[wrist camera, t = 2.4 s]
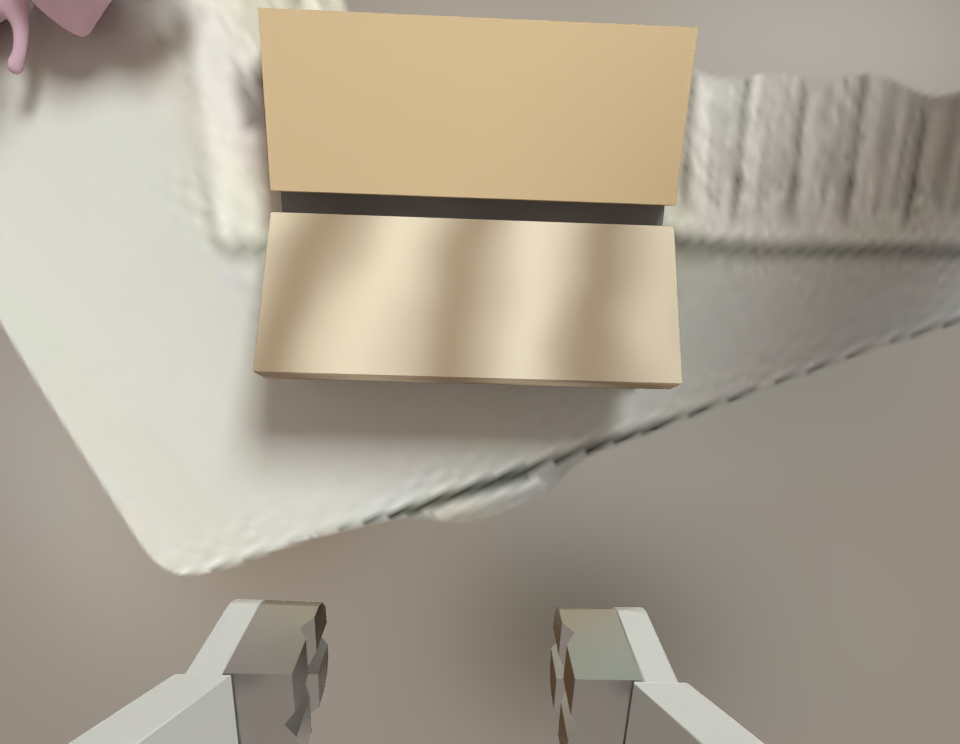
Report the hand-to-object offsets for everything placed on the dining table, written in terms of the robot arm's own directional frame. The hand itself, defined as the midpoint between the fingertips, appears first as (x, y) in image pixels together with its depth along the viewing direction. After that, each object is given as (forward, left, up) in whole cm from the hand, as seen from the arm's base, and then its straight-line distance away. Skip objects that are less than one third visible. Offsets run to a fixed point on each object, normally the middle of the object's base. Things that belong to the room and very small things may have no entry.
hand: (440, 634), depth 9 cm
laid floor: (0, -7, -21) cm, 22 cm away
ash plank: (0, -3, -18) cm, 19 cm away
